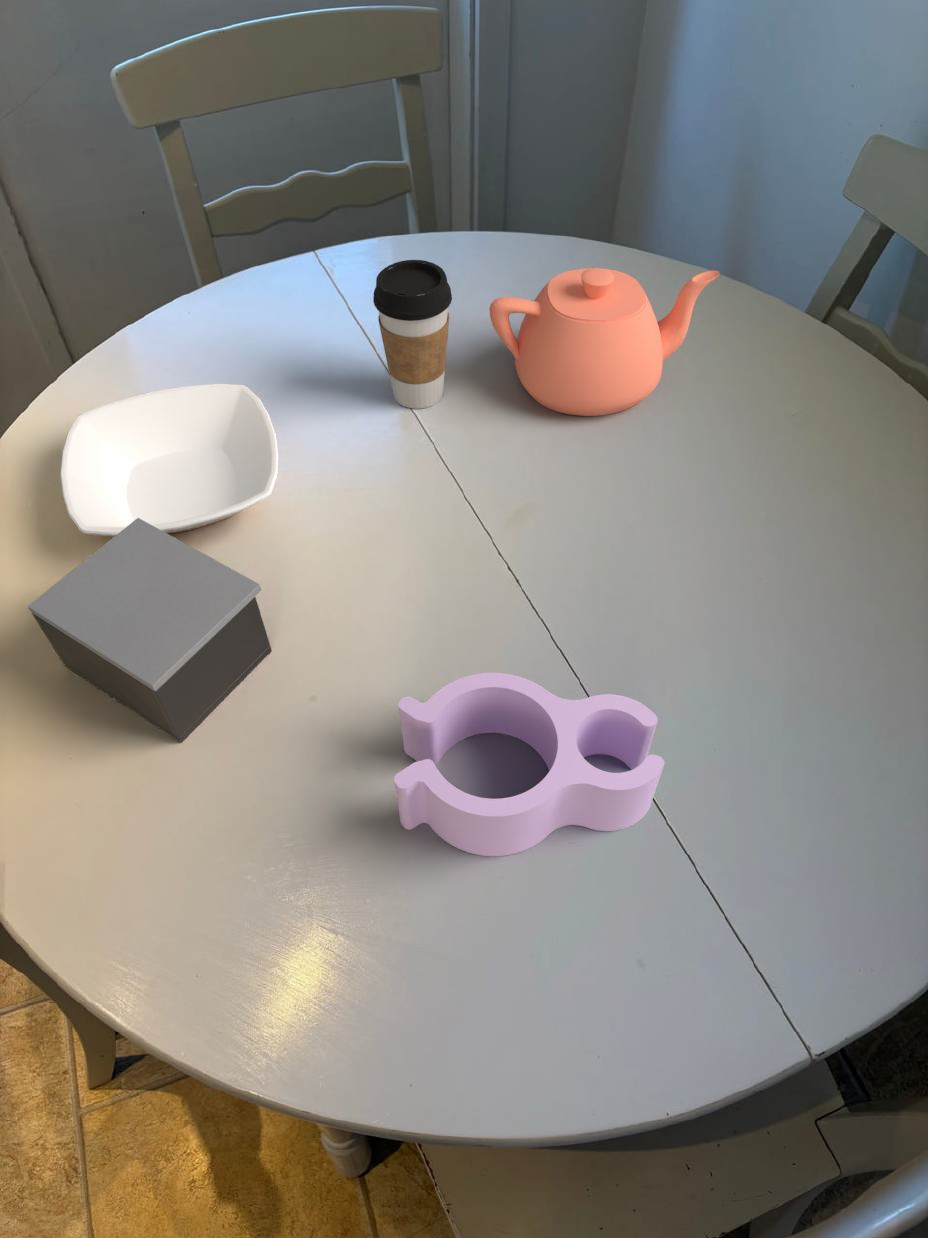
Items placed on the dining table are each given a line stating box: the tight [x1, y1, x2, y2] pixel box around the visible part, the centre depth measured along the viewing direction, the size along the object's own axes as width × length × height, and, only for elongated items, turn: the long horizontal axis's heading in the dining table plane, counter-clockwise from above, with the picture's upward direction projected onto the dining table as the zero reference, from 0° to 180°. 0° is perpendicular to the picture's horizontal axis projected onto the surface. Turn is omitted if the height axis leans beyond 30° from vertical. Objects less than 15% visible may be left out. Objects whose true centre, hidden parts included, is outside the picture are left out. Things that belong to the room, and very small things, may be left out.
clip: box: [393, 672, 665, 857], centre depth 70 cm, size 20×12×7 cm, turn 90°
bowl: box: [59, 383, 280, 537], centre depth 92 cm, size 22×22×5 cm
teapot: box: [488, 267, 721, 417], centre depth 100 cm, size 25×17×13 cm
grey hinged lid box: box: [31, 596, 272, 744], centre depth 78 cm, size 12×15×8 cm
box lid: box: [27, 518, 262, 691], centre depth 74 cm, size 12×15×1 cm
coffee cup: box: [372, 259, 453, 410], centre depth 98 cm, size 8×8×15 cm
